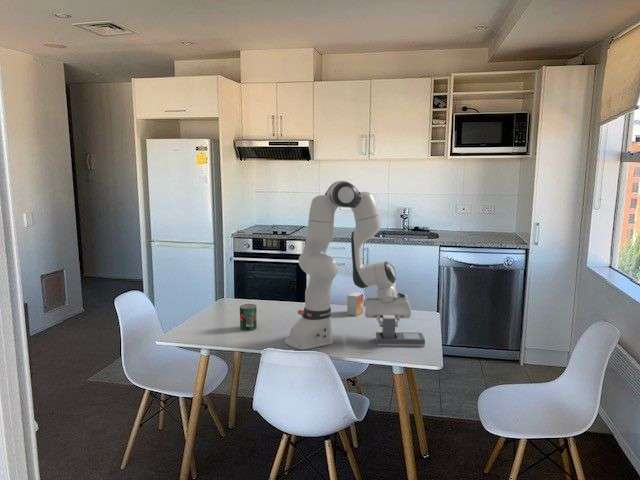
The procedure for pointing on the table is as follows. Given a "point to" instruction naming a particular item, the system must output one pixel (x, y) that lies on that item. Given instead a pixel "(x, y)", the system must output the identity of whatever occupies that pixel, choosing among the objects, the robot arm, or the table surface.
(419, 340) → the gray rectangular base
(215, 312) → the table surface
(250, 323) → the canned tomato
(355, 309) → the small box
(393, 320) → the plug
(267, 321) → the table surface
